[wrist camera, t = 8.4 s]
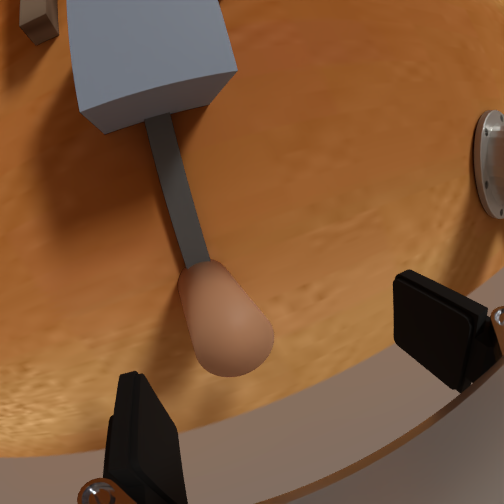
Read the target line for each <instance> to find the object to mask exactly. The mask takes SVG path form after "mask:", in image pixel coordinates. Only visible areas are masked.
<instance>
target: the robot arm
mask: <svg viewBox="0 0 504 504" xmlns="http://www.w3.org/2000/svg"><path fill="white" fill-rule="evenodd" d="M474 170H475V178H476V185H477V190H478V194H479V197H480V200H481V203H482V205H483V207H484V209H485V211H486V212H487V214H488V215H490V216H491V217H493V218H497V219H503V218H504V115H503V114H502V113H501V112H500V111H497V110H488V111H486V112H484V113H483V114H482V116H481V118H480V120H479V122H478V125H477V128H476V133H475V140H474ZM393 305H394V341H395V343H396V344H397V345H398V346H399V347H400V348H401V349H403V350H404V351H405V352H406V353H408V354H409V355H410V356H411V357H413V358H414V359H415V360H416V361H418V362H419V363H420V364H421V365H423V366H424V367H425V368H426V369H427V370H429V371H430V372H431V373H432V374H433V375H435V376H436V377H437V378H438V379H440V380H441V381H442V382H443V383H444V384H446V385H447V386H449V388H451V389H456V390H457V391H458V392H459V393H461V394H460V395H458V396H457V397H456V398H455V399H453V400H452V401H451V402H450V403H448V404H447V405H446V406H444V407H443V408H442V409H440V410H439V411H438V412H436V413H435V414H434V415H432V416H431V417H429V418H428V419H427V420H425V421H424V422H422V423H421V424H419V425H418V426H416V427H415V428H413V429H412V430H410V431H409V432H407V433H406V434H404V435H403V436H401V437H400V438H398V439H396V440H395V441H393V442H391V443H390V444H388V445H386V446H385V447H383V448H381V449H380V450H378V451H376V452H374V453H372V454H371V455H369V456H367V457H365V458H363V459H361V460H359V461H358V462H356V463H354V464H352V465H350V466H348V467H346V468H344V469H342V470H340V471H337V472H335V473H333V474H331V475H329V476H327V477H324V478H322V479H320V480H318V481H315V482H313V483H311V484H308V485H306V486H303V487H301V488H298V489H296V490H293V491H290V492H288V493H285V494H282V495H279V496H277V497H274V498H271V499H268V500H265V501H261V502H259V503H255V504H504V306H501V307H498V308H496V309H494V310H493V312H492V313H491V316H490V317H488V316H487V312H488V308H487V307H485V306H483V305H481V304H479V303H477V302H475V301H473V300H471V299H469V298H467V297H465V296H463V295H461V294H459V293H457V292H455V291H453V290H451V289H449V288H447V287H445V286H443V285H441V284H439V283H437V282H435V281H433V280H431V279H429V278H427V277H425V276H423V275H421V274H419V273H416V272H414V271H412V270H406V271H404V272H402V273H400V274H398V275H396V277H395V280H394V281H393ZM471 382H472V383H473V384H472V385H471ZM77 502H78V504H188V502H187V496H186V490H185V484H184V477H183V470H182V463H181V455H180V447H179V439H178V432H177V428H176V426H175V424H174V422H173V421H172V419H171V418H170V416H169V415H168V413H167V412H166V410H165V409H164V407H163V405H162V404H161V402H160V401H159V399H158V397H157V396H156V394H155V392H154V391H153V389H152V387H151V386H150V384H149V382H148V380H147V379H146V377H145V375H144V374H138V372H137V371H132V372H129V373H125V374H121V375H120V376H119V382H118V388H117V394H116V401H115V408H114V415H112V416H111V417H110V419H109V425H108V433H107V441H106V450H105V460H104V471H103V478H97V479H93V480H91V481H89V482H87V483H86V484H85V485H84V486H83V487H82V488H81V490H80V492H79V493H78V498H77Z"/></svg>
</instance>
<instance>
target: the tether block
mask: <svg viewBox="0 0 504 504" xmlns="http://www.w3.org/2000/svg"><path fill="white" fill-rule="evenodd" d="M67 18H68V32H69V43H70V52H71V60H72V68H73V75H74V82H75V88H76V94H77V100H78V106H79V111H80V113H81V114H82V115H83V116H85V117H86V118H87V119H88V120H89V121H90V122H91V123H92V124H94V125H95V126H96V127H97V128H98V129H99V130H100V131H101V132H103V133H104V134H107V133H110V132H113V131H116V130H119V129H122V128H125V127H128V126H131V125H134V124H138V123H141V122H144V121H145V125H146V130H147V134H148V138H149V142H150V146H151V149H152V153H153V157H154V161H155V165H156V168H157V172H158V176H159V179H160V183H161V186H162V190H163V193H164V197H165V200H166V204H167V207H168V211H169V214H170V217H171V221H172V224H173V227H174V230H175V234H176V237H177V240H178V243H179V246H180V249H181V253H182V256H183V259H184V262H185V265H186V267H185V268H184V269H183V271H182V272H181V274H180V277H179V280H178V291H179V295H180V299H181V303H182V307H183V311H184V314H185V318H186V322H187V326H188V329H189V333H190V337H191V340H192V344H193V347H194V351H195V354H196V357H197V359H198V361H199V363H200V364H201V366H202V367H203V368H204V369H206V370H207V371H208V372H210V373H212V374H215V375H217V376H222V377H236V376H241V375H244V374H247V373H249V372H251V371H253V370H254V369H256V368H257V367H259V366H260V365H261V364H262V363H263V362H264V361H265V360H266V358H267V357H268V356H269V354H270V352H271V350H272V347H273V343H274V331H273V328H272V325H271V323H270V321H269V320H268V319H267V317H266V316H265V315H264V314H263V313H262V311H261V310H260V309H259V308H258V307H257V305H256V304H255V303H254V302H253V301H252V299H251V298H250V297H249V296H248V295H247V293H246V292H245V291H244V290H243V289H242V287H241V286H240V285H239V284H238V283H237V281H236V280H235V279H234V278H233V276H232V275H231V274H230V273H229V271H228V270H227V269H226V268H225V267H224V266H223V265H222V264H221V263H219V262H218V261H215V260H212V259H210V257H209V254H208V251H207V247H206V244H205V241H204V237H203V234H202V230H201V227H200V224H199V220H198V217H197V213H196V210H195V206H194V202H193V199H192V195H191V192H190V188H189V184H188V181H187V177H186V173H185V170H184V166H183V162H182V158H181V155H180V151H179V147H178V143H177V139H176V135H175V131H174V127H173V123H172V119H171V115H170V114H172V113H176V112H180V111H184V110H188V109H192V108H197V107H201V106H205V105H209V104H210V103H211V102H212V101H213V99H214V98H215V97H216V96H217V94H218V93H219V92H220V91H221V90H222V88H223V87H224V86H225V85H226V84H227V82H228V81H229V80H230V79H231V78H232V77H233V76H234V74H235V73H236V72H237V71H238V70H237V66H236V62H235V59H234V55H233V51H232V48H231V44H230V41H229V37H228V34H227V30H226V27H225V23H224V20H223V16H222V13H221V9H220V6H219V2H218V0H67Z"/></svg>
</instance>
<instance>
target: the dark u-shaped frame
mask: <svg viewBox="0 0 504 504" xmlns="http://www.w3.org/2000/svg"><path fill="white" fill-rule="evenodd" d="M19 27H20V28H21V29H22V30H23V31H24V32H25V34H26V35H27V36H28V37H29V38H30V39H31V41H32V42H33V43H34V44H35V45H38V44H40V43H42V42H44V41H47V40H49V39H51V38H53V37H56V36H58V35H59V28H58V9H57V0H20V21H19Z"/></svg>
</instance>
